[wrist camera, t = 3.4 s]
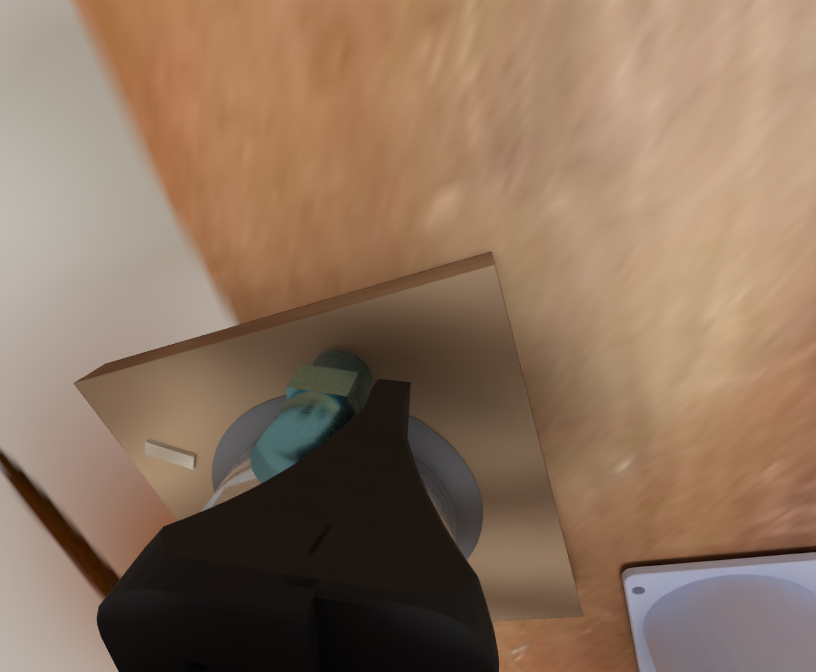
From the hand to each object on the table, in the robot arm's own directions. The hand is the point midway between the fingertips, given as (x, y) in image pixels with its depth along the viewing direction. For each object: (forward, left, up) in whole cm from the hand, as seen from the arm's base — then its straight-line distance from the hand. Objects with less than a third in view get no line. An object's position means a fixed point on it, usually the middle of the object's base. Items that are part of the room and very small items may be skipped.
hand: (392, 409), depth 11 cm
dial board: (-5, +4, -3) cm, 8 cm away
